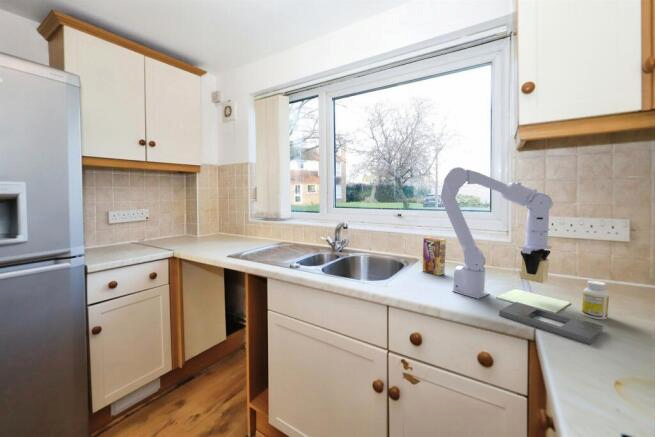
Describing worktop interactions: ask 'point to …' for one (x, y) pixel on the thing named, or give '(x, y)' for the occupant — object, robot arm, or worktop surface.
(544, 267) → the tan rectangular block
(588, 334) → the iron frame
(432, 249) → the candy box
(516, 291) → the sage mat
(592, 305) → the supplement bottle
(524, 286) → the worktop surface
